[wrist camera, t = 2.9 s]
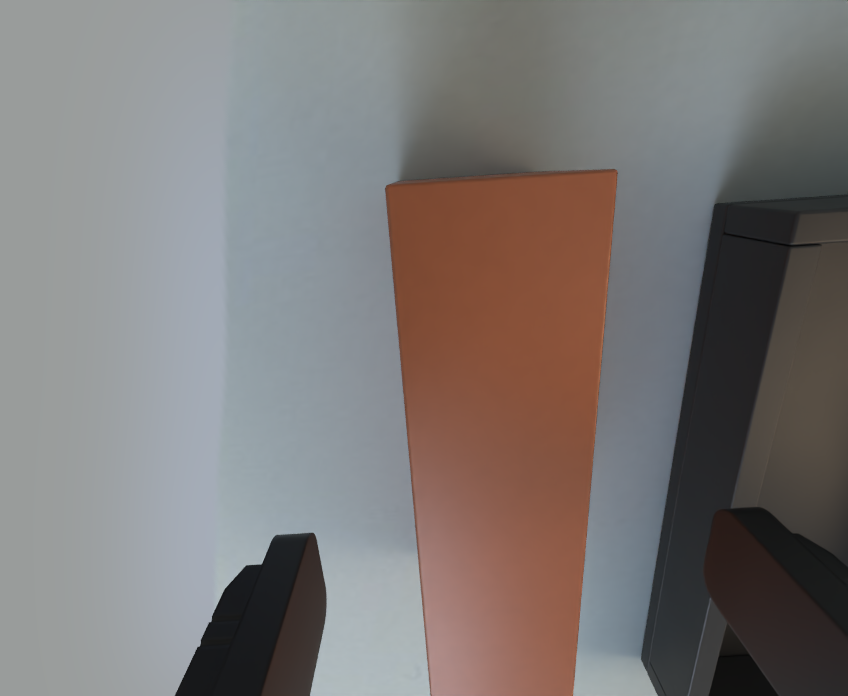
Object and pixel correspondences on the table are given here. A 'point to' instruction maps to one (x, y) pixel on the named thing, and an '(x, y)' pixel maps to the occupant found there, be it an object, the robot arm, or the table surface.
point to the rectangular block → (501, 414)
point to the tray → (754, 423)
